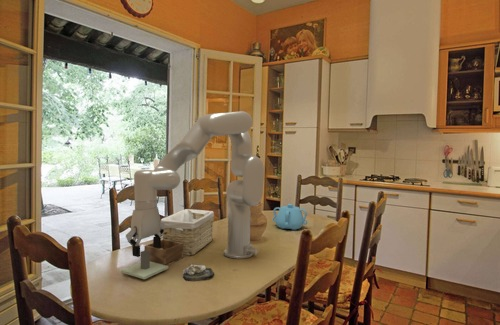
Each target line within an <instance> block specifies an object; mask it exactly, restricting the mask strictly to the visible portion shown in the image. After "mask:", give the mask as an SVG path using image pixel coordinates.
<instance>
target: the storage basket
mask: <svg viewBox="0 0 500 325" xmlns="http://www.w3.org/2000/svg"><path fill="white" fill-rule="evenodd" d="M193 216H198V217H199V218H198V219H196V218H194V217H193ZM214 218H215V213H214V211H213V210H206V209H205V210H204V209H190V208H189V209H188V208H185V209H183V210H180V211H177V212H175V213H173V214H170V215H168V216H165V217H163V218H160V222H162V223H164V224H165V227H164V232H163V233H162V237H161V238H162V240H163V239H165V240H170V241H174V242H179V243H183V255H186V256H194V255H195V254H197V253H198V252H199V251H201V250H202V249H203V248H205V247H206V246H207V245H208V244H210V243H211V242H212V241H213V232H214V231H213V228H214V220H215V219H214Z"/></svg>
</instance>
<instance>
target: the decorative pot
mask: <svg viewBox="0 0 500 325" xmlns="http://www.w3.org/2000/svg"><path fill="white" fill-rule="evenodd" d="M276 210H278V212H276ZM302 212H304V215H303V213H302ZM273 215H274V216H273V217H272V222H274V223H275V224H276V226H277V227H278V228H280V229H281V230H286V229H290V230H292V231H297V230H298V229H301V228H302V226H303V225H304V226H305V225H307V224H308V220H306V218H307V215H308V212H307V210H305V209H303V208H300V207H299V206H294V204H293V203H287V205H283V206H281V207H279V206H278V207H277V206H276V207H274V209H273Z"/></svg>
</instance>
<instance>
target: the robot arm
mask: <svg viewBox="0 0 500 325" xmlns="http://www.w3.org/2000/svg"><path fill="white" fill-rule="evenodd" d="M253 124H254V123H253V118H252V116H251V114H250V113H248V112H247V111H244V110H239V111H230V112H215V113H208V114H207V113H206V114H203V115H202V116H200V117H199V118H198V119H197V120H196V121H195V122H194V124H192V126H191V128H189V131H187V133H186V134H185V136H183V137H182V139H181V140H180V141H179V142H178V143H177V144H176V145H175V146H174V147H173V148H172V149H171V150H170V151H169V152H167V153H166V154H165V155H164V156H163V158H162V159H161V160H160V161H159V163H158V164H157V165H156V166H155V167H154V169H153V170H152V169H141V170H136V171H134V174H133V184H134V186H133V187H134V191H133V192H134V209H133V210H132V214H131V222H130V230H129V231H128V233H127V234H125V239H126V240H127V242H128V243H129V244H130V245H131V247H132V256H133V257H136V258H141V246H140V243H141V240H143V239H144V240H145V239H147V238H150V237H152V238H153V239H152V241H153V242H152V243H153V247H154V248H158V249H160V248H161V240H162V239H161V238H162V233H163V232H164V227H165V224H164V223H162V222H161V217H160V211H159V206H158V202H159V200H158V197H157V196H158V191H159V190H162V191H164V190H165V191H170V190H174V189H176V188H178V186H179V185H180V183H181V177H180V175H179V173H178V170H179V169H180V168H181V167H182V166H183V165H184V164H185V163H187V162H189V161H192V160H194V159H196V158H197V157H198V156H200V154H201V153H202V151H204V149H205V147H206V146H207V145H208V144H209V142H210V141H211V140H212V138H213V137H221V136H223V137H224V136H228V137H229V138H230V142H231V153H230V154H231V155H230V156H231V158H230V171H231V173H232V174H233V175H234V176H235V177H239V178H242V179H236V180H232V181H230V183H228V185H227V187H226V191H225V192H226V195H225V196H226V199H227V200H226V202H227V248H225V249H224V250H223V255H224V256H225V257H226V258H227V257H228V258H230V259H238V260H240V259H241V260H242V259H247V258H251V257H252V256H253V255H257V254H258V248H257V247H253V243H250V242H251V207H255V206H257V205H259V204H260V202H261V200H262V198H263V193H264V182H265V181H264V179H265V177H264V176H265V166H264V163H263V161H262V159H261V158H259V157H258V156H256V155H253V147H252V146H253V142H252V138H251V135H250V133H249V131H250V130H251V128H252V127H253Z"/></svg>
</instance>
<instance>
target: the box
mask: <svg viewBox="0 0 500 325" xmlns="http://www.w3.org/2000/svg"><path fill="white" fill-rule="evenodd" d="M161 248H162V249H158V248H154V247H153V242H152V243H149V244H146V245H144V250H143V251H145V250H147V251H150V261H151V262H155V263H158V264H162V265H166V266H169V265H170V264H172V263H174V262H177V261H180V260H182V259H183V258H184V254H183V243H179V242H174V241H170V240H165V239H163V238H162V239H161Z"/></svg>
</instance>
